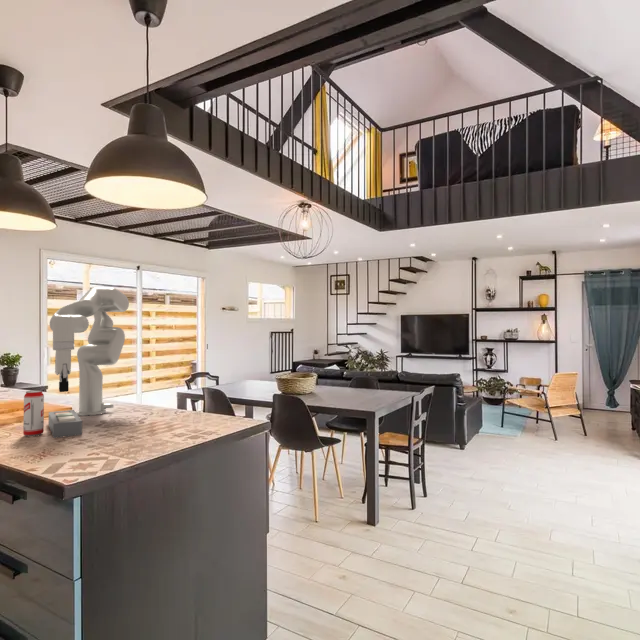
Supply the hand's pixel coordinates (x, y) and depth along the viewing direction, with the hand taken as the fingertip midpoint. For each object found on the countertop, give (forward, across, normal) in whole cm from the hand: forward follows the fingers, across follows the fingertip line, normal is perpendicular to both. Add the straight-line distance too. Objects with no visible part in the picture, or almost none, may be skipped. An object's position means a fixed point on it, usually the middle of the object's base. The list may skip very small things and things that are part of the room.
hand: (63, 391), depth 181 cm
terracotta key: (+11, +1, -1) cm, 11 cm away
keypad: (+13, +9, -1) cm, 16 cm away
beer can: (+13, +13, -11) cm, 22 cm away
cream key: (+10, +17, -1) cm, 20 cm away
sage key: (+10, +9, -1) cm, 13 cm away
